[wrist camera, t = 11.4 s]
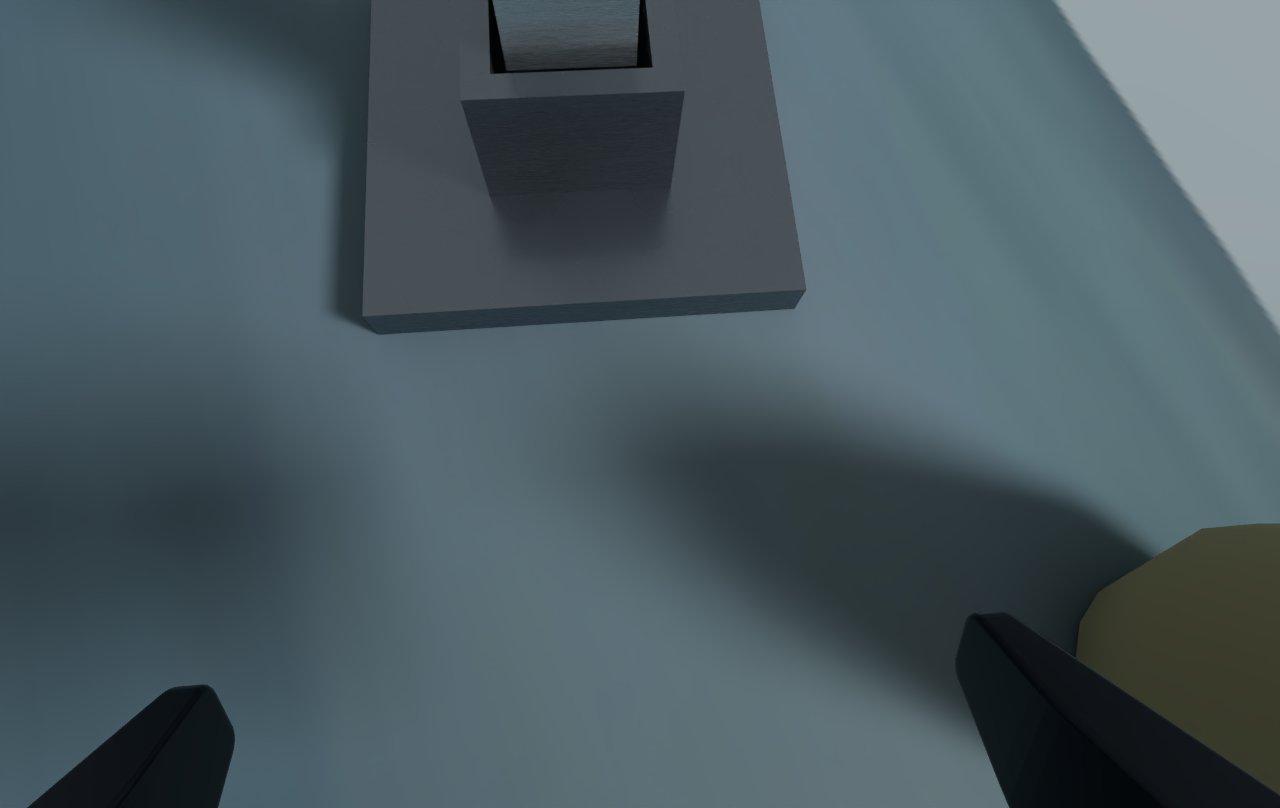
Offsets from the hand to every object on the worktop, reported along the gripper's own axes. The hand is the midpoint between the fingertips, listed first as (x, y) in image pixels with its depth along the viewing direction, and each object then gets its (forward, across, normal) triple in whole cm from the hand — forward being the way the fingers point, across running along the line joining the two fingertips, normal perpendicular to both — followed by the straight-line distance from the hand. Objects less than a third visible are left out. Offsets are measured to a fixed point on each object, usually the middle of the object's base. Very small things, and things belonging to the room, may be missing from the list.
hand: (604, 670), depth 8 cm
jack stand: (+21, 0, -3) cm, 21 cm away
